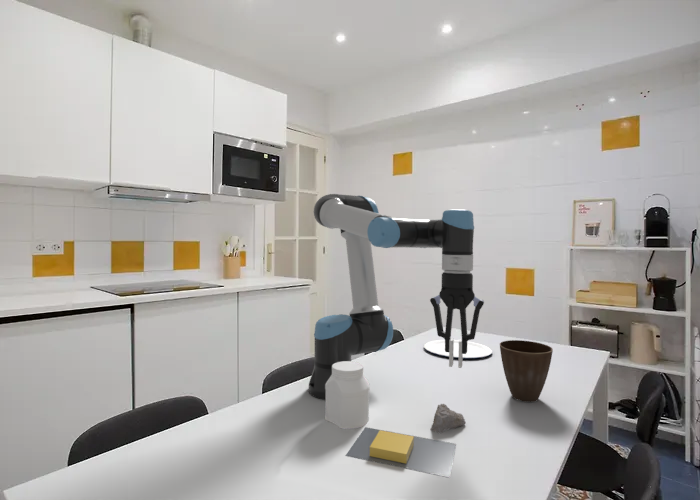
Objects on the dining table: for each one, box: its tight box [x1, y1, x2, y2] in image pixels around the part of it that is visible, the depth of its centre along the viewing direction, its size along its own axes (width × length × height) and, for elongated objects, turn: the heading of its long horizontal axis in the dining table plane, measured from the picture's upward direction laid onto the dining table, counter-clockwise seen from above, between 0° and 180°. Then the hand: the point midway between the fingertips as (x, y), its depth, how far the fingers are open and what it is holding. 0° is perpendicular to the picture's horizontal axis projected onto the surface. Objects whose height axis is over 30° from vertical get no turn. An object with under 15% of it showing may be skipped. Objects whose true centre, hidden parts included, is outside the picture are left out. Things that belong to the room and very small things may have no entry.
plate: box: [423, 339, 493, 360], centre depth 174 cm, size 29×29×2 cm
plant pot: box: [499, 339, 554, 403], centre depth 121 cm, size 15×15×16 cm
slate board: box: [345, 426, 457, 479], centre depth 88 cm, size 22×14×1 cm, turn 70°
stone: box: [430, 403, 466, 434], centre depth 100 cm, size 10×8×6 cm
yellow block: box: [370, 429, 415, 463], centre depth 87 cm, size 8×2×8 cm
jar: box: [324, 360, 370, 430], centre depth 103 cm, size 12×10×15 cm
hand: (455, 365), depth 99 cm, fingers closed
